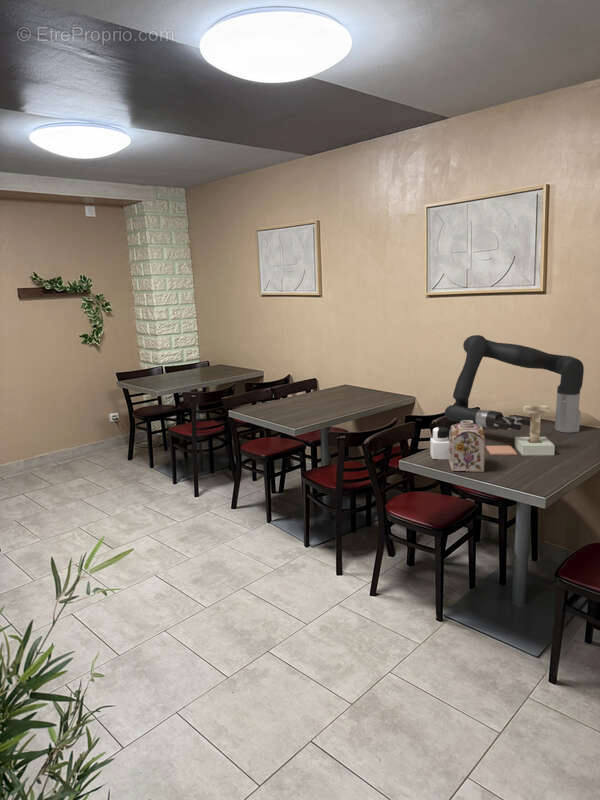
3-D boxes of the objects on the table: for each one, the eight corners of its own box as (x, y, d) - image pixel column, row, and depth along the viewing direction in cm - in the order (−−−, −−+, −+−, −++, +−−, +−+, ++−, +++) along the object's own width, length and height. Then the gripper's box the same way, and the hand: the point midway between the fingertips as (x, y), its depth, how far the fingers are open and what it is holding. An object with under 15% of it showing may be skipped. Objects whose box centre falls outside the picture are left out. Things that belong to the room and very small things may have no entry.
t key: (544, 449, 226) (546, 405, 222) (546, 451, 223) (548, 407, 219) (521, 449, 227) (523, 405, 223) (523, 451, 224) (525, 407, 220)
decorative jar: (484, 472, 204) (485, 425, 200) (451, 472, 206) (452, 425, 202) (479, 461, 215) (480, 417, 211) (448, 461, 217) (449, 417, 213)
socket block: (544, 445, 230) (545, 436, 229) (554, 455, 218) (554, 445, 218) (514, 446, 232) (515, 436, 231) (522, 455, 220) (522, 445, 219)
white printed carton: (448, 453, 226) (448, 425, 224) (450, 459, 219) (451, 430, 217) (430, 454, 227) (430, 425, 224) (432, 459, 220) (432, 430, 217)
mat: (510, 446, 231) (510, 445, 231) (516, 454, 221) (516, 453, 221) (485, 447, 232) (485, 445, 232) (490, 454, 222) (490, 453, 222)
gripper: (480, 413, 232) (517, 420, 220) (498, 407, 241) (534, 412, 229) (480, 431, 234) (516, 438, 222) (497, 423, 243) (533, 430, 231)
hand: (525, 425), depth 226 cm, fingers open, 8 cm apart
